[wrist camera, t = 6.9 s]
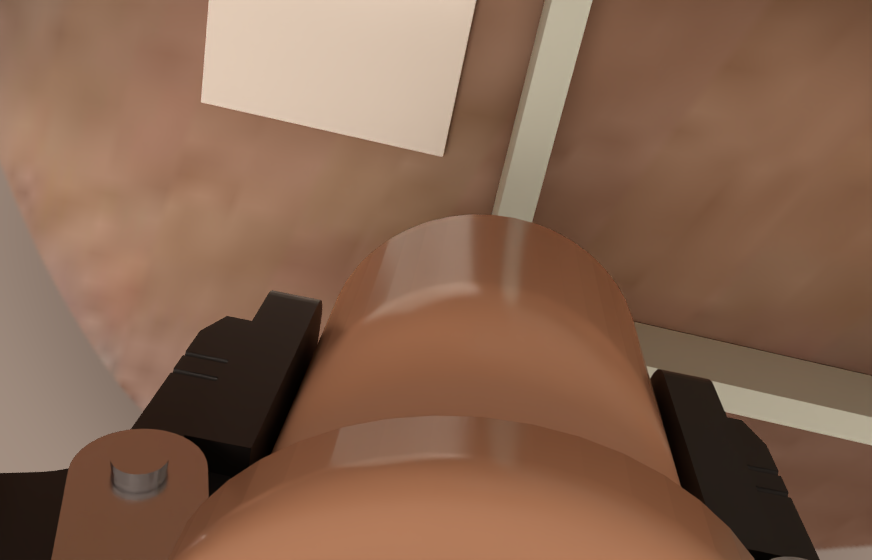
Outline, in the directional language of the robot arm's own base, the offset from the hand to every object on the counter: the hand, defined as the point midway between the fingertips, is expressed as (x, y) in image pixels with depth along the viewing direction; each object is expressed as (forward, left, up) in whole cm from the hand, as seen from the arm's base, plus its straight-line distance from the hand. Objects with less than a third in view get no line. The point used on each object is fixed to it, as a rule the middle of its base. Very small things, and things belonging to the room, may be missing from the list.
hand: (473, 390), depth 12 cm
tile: (+6, -2, -16) cm, 17 cm away
